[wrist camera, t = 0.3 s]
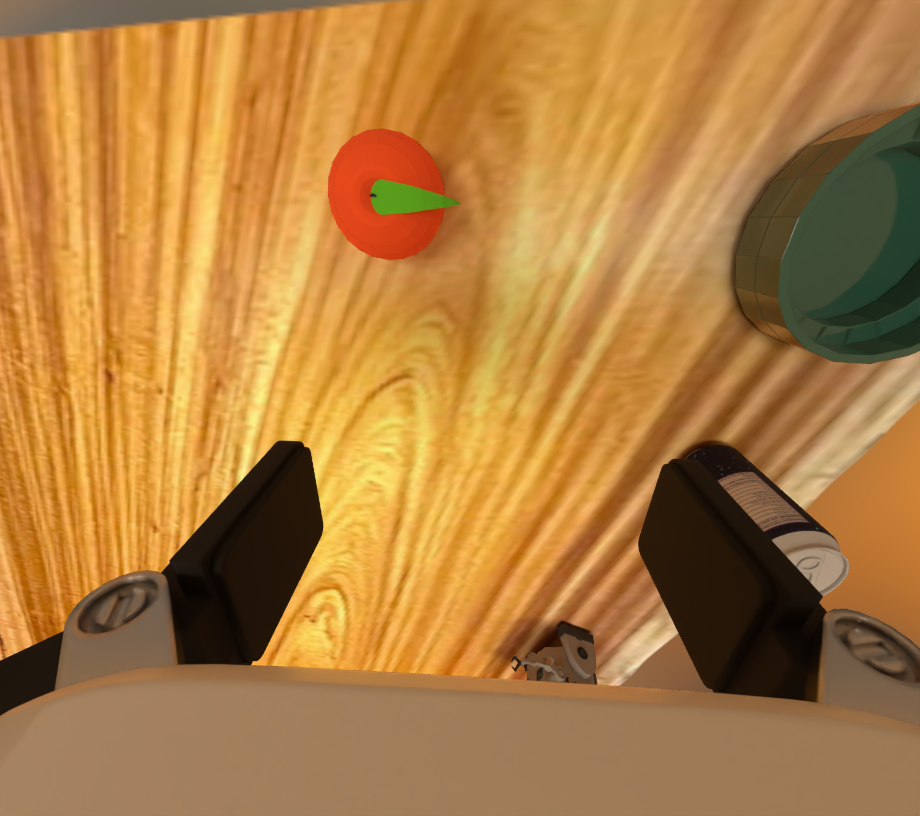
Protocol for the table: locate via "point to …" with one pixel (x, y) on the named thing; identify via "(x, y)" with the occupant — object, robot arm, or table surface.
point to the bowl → (841, 244)
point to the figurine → (563, 659)
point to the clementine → (386, 194)
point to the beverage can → (777, 516)
